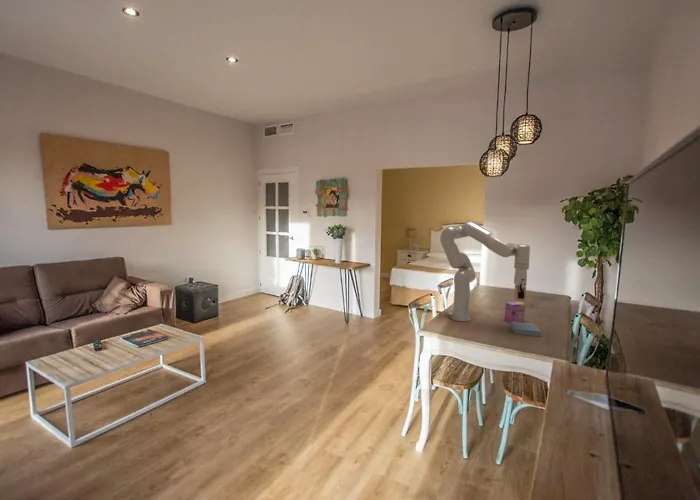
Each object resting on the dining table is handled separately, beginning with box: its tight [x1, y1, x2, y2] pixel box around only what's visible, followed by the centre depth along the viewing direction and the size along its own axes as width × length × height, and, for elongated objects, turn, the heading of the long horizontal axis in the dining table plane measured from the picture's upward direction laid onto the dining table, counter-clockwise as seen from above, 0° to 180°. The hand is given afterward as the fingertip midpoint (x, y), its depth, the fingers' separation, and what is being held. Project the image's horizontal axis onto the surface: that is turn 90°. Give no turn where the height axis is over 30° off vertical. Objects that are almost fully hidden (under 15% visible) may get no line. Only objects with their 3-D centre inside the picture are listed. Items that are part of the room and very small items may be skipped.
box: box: [503, 301, 526, 324], centre depth 229 cm, size 10×6×12 cm, turn 105°
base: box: [510, 322, 542, 337], centre depth 210 cm, size 13×14×3 cm
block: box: [513, 284, 527, 302], centre depth 208 cm, size 5×5×8 cm
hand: (519, 297), depth 209 cm, fingers closed on block, 5 cm apart
